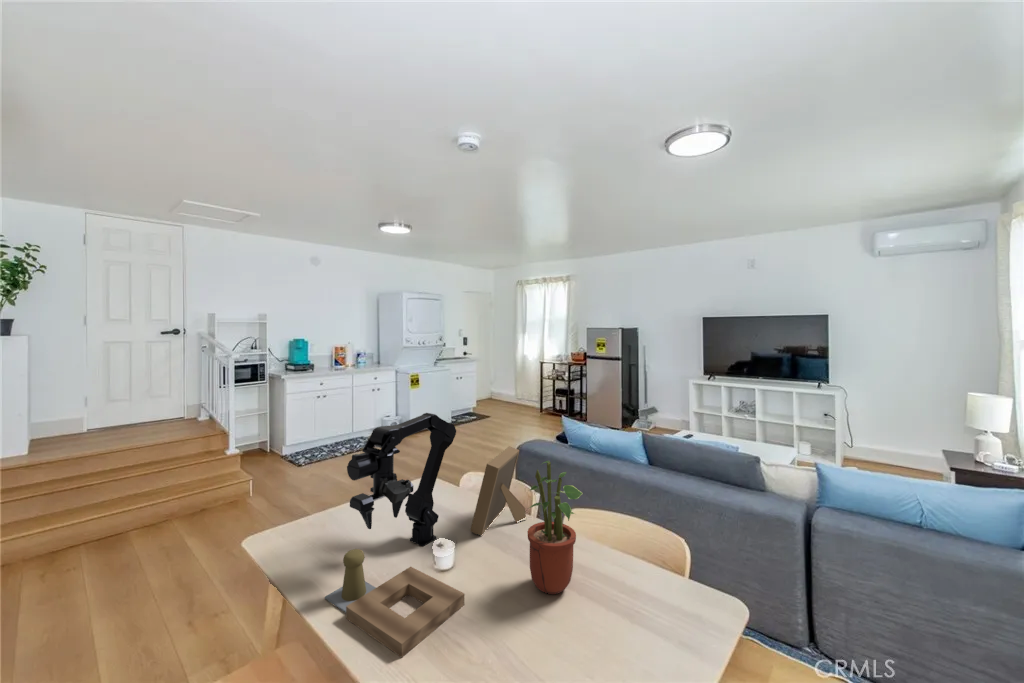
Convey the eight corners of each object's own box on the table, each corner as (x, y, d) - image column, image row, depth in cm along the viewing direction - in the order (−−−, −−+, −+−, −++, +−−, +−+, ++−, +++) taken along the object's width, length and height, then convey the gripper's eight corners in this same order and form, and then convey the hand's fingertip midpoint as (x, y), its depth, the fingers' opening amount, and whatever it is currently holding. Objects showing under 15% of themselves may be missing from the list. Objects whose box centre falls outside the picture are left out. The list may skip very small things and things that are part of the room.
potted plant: (564, 610, 100) (566, 471, 99) (510, 589, 108) (511, 460, 107) (587, 573, 116) (589, 452, 115) (538, 557, 123) (539, 444, 122)
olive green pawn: (351, 604, 101) (351, 561, 101) (336, 595, 104) (336, 553, 104) (371, 591, 106) (371, 550, 106) (356, 583, 109) (356, 543, 109)
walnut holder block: (410, 576, 113) (410, 566, 113) (464, 605, 102) (464, 593, 102) (346, 618, 97) (346, 606, 97) (401, 657, 85) (401, 643, 85)
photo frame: (469, 534, 137) (471, 461, 136) (494, 507, 157) (495, 444, 157) (510, 542, 132) (512, 467, 131) (530, 514, 153) (532, 449, 152)
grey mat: (358, 579, 112) (358, 577, 112) (381, 592, 106) (381, 590, 106) (324, 598, 104) (324, 596, 104) (347, 614, 98) (347, 612, 98)
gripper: (373, 486, 107) (372, 544, 107) (426, 468, 122) (425, 519, 123) (348, 477, 113) (348, 532, 114) (401, 460, 129) (401, 509, 129)
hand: (382, 522), depth 120 cm, fingers open, 9 cm apart
